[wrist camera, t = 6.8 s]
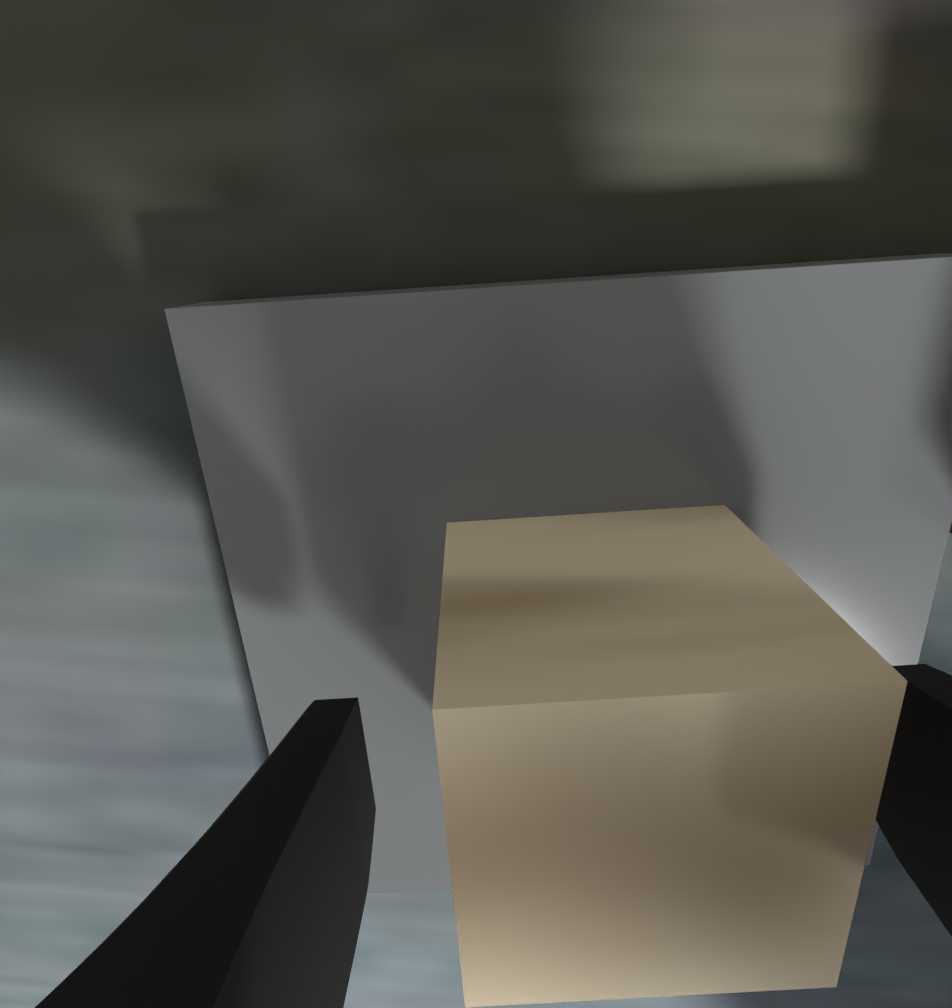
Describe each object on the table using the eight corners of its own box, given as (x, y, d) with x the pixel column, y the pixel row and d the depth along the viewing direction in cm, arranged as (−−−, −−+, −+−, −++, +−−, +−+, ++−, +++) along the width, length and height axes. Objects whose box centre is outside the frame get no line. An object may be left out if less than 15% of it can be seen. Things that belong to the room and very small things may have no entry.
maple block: (705, 726, 12) (837, 986, 8) (466, 740, 12) (465, 1007, 8) (725, 504, 10) (908, 680, 6) (447, 522, 10) (432, 709, 6)
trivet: (830, 806, 15) (869, 865, 13) (318, 836, 15) (303, 897, 13) (940, 253, 10) (1016, 252, 9) (205, 301, 10) (163, 308, 9)
